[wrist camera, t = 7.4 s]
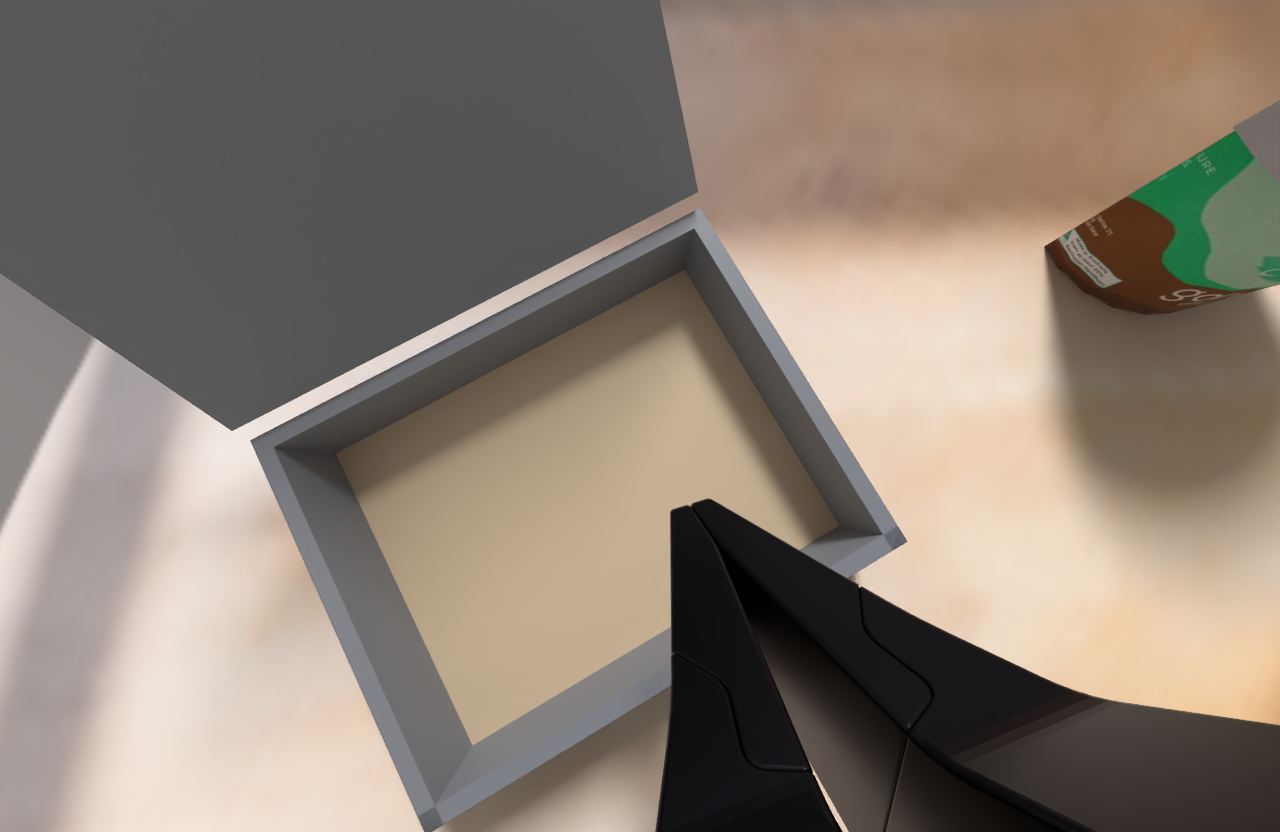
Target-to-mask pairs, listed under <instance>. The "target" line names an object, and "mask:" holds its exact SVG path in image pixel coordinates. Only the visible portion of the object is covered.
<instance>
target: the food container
mask: <svg viewBox="0 0 1280 832" xmlns="http://www.w3.org/2000/svg"><path fill="white" fill-rule="evenodd" d="M1233 128H1234V129H1235V131H1234V132H1232V133H1230V134H1229V135H1227V136H1225V137H1224V138H1222V139H1220V140H1219V141H1217V142H1216V143H1214V144H1212V145H1211V146H1209V147H1207V148H1206V149H1204V150H1202V151H1201V152H1199V153H1197V154H1196V155H1194V156H1192V157H1191V158H1189V159H1188V160H1186V161H1184V162H1183V163H1181V164H1179V165H1178V166H1176V167H1174V168H1173V169H1171V170H1169V171H1168V172H1166V173H1164V174H1163V175H1161V176H1160V177H1158V178H1156V179H1155V180H1153V181H1151V182H1150V183H1148V184H1146V185H1145V186H1143V187H1141V188H1140V189H1138V190H1136V191H1135V192H1133V193H1132V194H1130V195H1128V196H1127V197H1125V198H1123V199H1122V200H1120V201H1118V202H1117V203H1115V204H1113V205H1112V206H1110V207H1108V208H1107V209H1105V210H1104V211H1102V212H1100V213H1099V214H1097V215H1095V216H1094V217H1092V218H1090V219H1089V220H1087V221H1085V222H1084V223H1082V224H1080V225H1079V226H1077V227H1076V228H1074V229H1072V230H1071V231H1069V232H1067V233H1066V234H1064V235H1062V236H1061V237H1059V238H1057V239H1056V240H1054V241H1052V242H1051V243H1049V244H1048V245H1046V246H1045V248H1046V250H1047V251H1048V253H1049V254H1050V256H1051V258H1052V259H1053V261H1054V262H1055V264H1056V265H1057V267H1058V268H1059V269H1060V270H1061V271H1062V272H1063V273H1064V274H1065V275H1066V276H1067V277H1068V278H1069V279H1070V280H1071V281H1073V282H1074V283H1075V284H1076V285H1077V286H1078V287H1079V288H1080V289H1081V290H1082V291H1083V292H1085V293H1087V294H1089V295H1091V296H1093V297H1094V298H1096V299H1098V300H1100V301H1102V302H1104V303H1106V304H1107V305H1109V306H1111V307H1113V308H1118V309H1122V310H1127V311H1131V312H1136V313H1140V314H1160V313H1171V312H1175V311H1178V310H1182V309H1186V308H1190V307H1194V306H1198V305H1202V304H1206V303H1209V302H1213V301H1217V300H1221V299H1225V298H1229V297H1233V296H1237V295H1240V294H1244V293H1248V292H1252V291H1256V290H1260V289H1264V288H1268V287H1271V286H1275V285H1279V284H1280V101H1278V102H1276V103H1274V104H1273V105H1271V106H1269V107H1267V108H1266V109H1264V110H1262V111H1260V112H1259V113H1257V114H1255V115H1253V116H1251V117H1250V118H1248V119H1246V120H1244V121H1243V122H1241V123H1239V124H1237V125H1236V126H1234V127H1233Z"/></svg>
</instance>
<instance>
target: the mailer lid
mask: <svg viewBox="0 0 1280 832" xmlns="http://www.w3.org/2000/svg"><path fill="white" fill-rule="evenodd" d="M697 192H698V189H697V184H696V179H695V174H694V169H693V164H692V159H691V154H690V149H689V144H688V139H687V134H686V129H685V124H684V119H683V114H682V110H681V105H680V100H679V95H678V90H677V85H676V80H675V75H674V70H673V65H672V60H671V55H670V50H669V45H668V40H667V35H666V31H665V26H664V21H663V16H662V11H661V6H660V1H659V0H0V273H1V274H2V275H4V276H5V277H7V278H8V279H9V280H11V281H13V282H14V283H16V284H17V285H18V286H20V287H22V288H23V289H24V290H26V291H27V292H29V293H30V294H32V295H33V296H35V297H36V298H38V299H39V300H40V301H42V302H43V303H45V304H46V305H48V306H49V307H51V308H52V309H54V310H55V311H57V312H58V313H59V314H61V315H62V316H64V317H65V318H67V319H68V320H70V321H71V322H73V323H74V324H76V325H77V326H79V327H80V328H81V329H83V330H84V331H86V332H87V333H89V334H90V335H92V336H93V337H95V338H96V339H98V340H99V341H101V342H102V343H104V344H105V345H106V346H108V347H109V348H111V349H112V350H114V351H115V352H117V353H118V354H120V355H121V356H123V357H124V358H126V359H127V360H129V361H130V362H131V363H133V364H134V365H136V366H137V367H139V368H140V369H142V370H143V371H145V372H146V373H148V374H149V375H151V376H152V377H153V378H155V379H156V380H158V381H159V382H161V383H162V384H164V385H165V386H167V387H168V388H170V389H171V390H173V391H174V392H176V393H177V394H178V395H180V396H181V397H183V398H184V399H186V400H187V401H189V402H190V403H192V404H193V405H195V406H196V407H198V408H199V409H201V410H202V411H203V412H205V413H206V414H208V415H209V416H211V417H212V418H214V419H215V420H217V421H218V422H220V423H221V424H223V425H224V426H225V427H227V428H228V429H230V430H231V431H233V430H235V429H237V428H239V427H241V426H243V425H245V424H247V423H249V422H251V421H252V420H254V419H256V418H258V417H260V416H262V415H264V414H266V413H268V412H270V411H272V410H274V409H276V408H278V407H280V406H282V405H284V404H286V403H288V402H290V401H291V400H293V399H295V398H297V397H299V396H301V395H303V394H305V393H307V392H309V391H311V390H313V389H315V388H317V387H319V386H321V385H323V384H325V383H327V382H329V381H330V380H332V379H334V378H336V377H338V376H340V375H342V374H344V373H346V372H348V371H350V370H352V369H354V368H356V367H358V366H360V365H362V364H364V363H366V362H368V361H369V360H371V359H373V358H375V357H377V356H379V355H381V354H383V353H385V352H387V351H389V350H391V349H393V348H395V347H397V346H399V345H401V344H403V343H405V342H406V341H408V340H410V339H412V338H414V337H416V336H418V335H420V334H422V333H424V332H426V331H428V330H430V329H432V328H434V327H436V326H438V325H440V324H442V323H444V322H445V321H447V320H449V319H451V318H453V317H455V316H457V315H459V314H461V313H463V312H465V311H467V310H469V309H471V308H473V307H475V306H477V305H479V304H481V303H483V302H484V301H486V300H488V299H490V298H492V297H494V296H496V295H498V294H500V293H502V292H504V291H506V290H508V289H510V288H512V287H514V286H516V285H518V284H520V283H522V282H523V281H525V280H527V279H529V278H531V277H533V276H535V275H537V274H539V273H541V272H543V271H545V270H547V269H549V268H551V267H553V266H555V265H557V264H559V263H560V262H562V261H564V260H566V259H568V258H570V257H572V256H574V255H576V254H578V253H580V252H582V251H584V250H586V249H588V248H590V247H592V246H594V245H596V244H598V243H599V242H601V241H603V240H605V239H607V238H609V237H611V236H613V235H615V234H617V233H619V232H621V231H623V230H625V229H627V228H629V227H631V226H633V225H635V224H637V223H638V222H640V221H642V220H644V219H646V218H648V217H650V216H652V215H654V214H656V213H658V212H660V211H662V210H664V209H666V208H668V207H670V206H672V205H674V204H675V203H677V202H679V201H681V200H683V199H685V198H687V197H689V196H691V195H693V194H695V193H697Z"/></svg>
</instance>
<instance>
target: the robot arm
mask: <svg viewBox="0 0 1280 832" xmlns="http://www.w3.org/2000/svg"><path fill="white" fill-rule="evenodd" d="M670 583H671V654H672V655H671V692H670V714H669V724H668V735H667V745H666V753H665V761H664V769H663V776H662V784H661V792H660V800H659V808H658V815H657V823H656V831H655V832H843V831H842V830H841V828H840V826H839V825H838V823H837V821H836V820H835V818H834V816H833V814H832V812H831V810H830V808H829V806H828V804H827V802H826V800H825V798H824V795H823V793H822V791H821V789H820V787H819V784H818V782H817V780H816V778H815V776H814V775H813V771H812V768H811V766H810V764H811V765H812V767H813V769H814V771H815V773H816V774H817V776H818V778H819V780H820V781H821V783H822V785H823V787H824V788H825V790H826V792H827V794H828V796H829V797H830V799H831V801H832V803H833V804H834V806H835V808H836V810H837V812H838V813H839V815H840V817H841V819H842V820H843V822H844V824H845V826H846V828H847V829H848V831H849V832H1280V725H1274V724H1267V723H1261V722H1254V721H1247V720H1240V719H1233V718H1226V717H1220V716H1213V715H1206V714H1199V713H1192V712H1185V711H1179V710H1172V709H1165V708H1158V707H1151V706H1144V705H1138V704H1131V703H1124V702H1118V701H1112V700H1107V699H1103V698H1099V697H1095V696H1091V695H1088V694H1085V693H1082V692H1078V691H1075V690H1072V689H1070V688H1067V687H1064V686H1062V685H1059V684H1057V683H1054V682H1052V681H1050V680H1048V679H1045V678H1043V677H1041V676H1039V675H1036V674H1034V673H1032V672H1030V671H1028V670H1026V669H1024V668H1022V667H1020V666H1017V665H1015V664H1013V663H1011V662H1009V661H1007V660H1005V659H1003V658H1001V657H999V656H996V655H994V654H992V653H990V652H988V651H986V650H984V649H982V648H980V647H977V646H975V645H973V644H971V643H969V642H967V641H965V640H963V639H961V638H958V637H956V636H954V635H952V634H950V633H948V632H946V631H944V630H942V629H940V628H938V627H936V626H934V625H932V624H930V623H928V622H926V621H924V620H922V619H920V618H918V617H916V616H914V615H912V614H910V613H908V612H907V611H905V610H903V609H901V608H899V607H898V606H896V605H894V604H892V603H890V602H888V601H887V600H885V599H883V598H881V597H880V596H878V595H876V594H874V593H873V592H871V591H869V590H867V589H866V588H864V587H860V588H859V585H858V584H857V583H855V582H853V581H852V580H850V579H848V578H846V577H845V576H843V575H841V574H840V573H838V572H836V571H834V570H833V569H831V568H829V567H828V566H826V565H824V564H822V563H821V562H819V561H817V560H816V559H814V558H812V557H810V556H809V555H807V554H805V553H803V552H802V551H800V550H798V549H797V548H795V547H793V546H791V545H790V544H788V543H786V542H785V541H783V540H781V539H779V538H778V537H776V536H774V535H772V534H771V533H769V532H767V531H766V530H764V529H762V528H760V527H759V526H757V525H755V524H754V523H752V522H750V521H748V520H747V519H745V518H743V517H742V516H740V515H738V514H736V513H735V512H733V511H731V510H729V509H728V508H726V507H724V506H723V505H721V504H719V503H717V502H716V501H714V500H712V499H709V498H707V499H704V500H700V501H697V502H694V503H692V504H691V506H689V505H684V506H681V507H678V508H675V509H672V510H671V511H670ZM808 760H809V761H808ZM809 762H810V763H809Z"/></svg>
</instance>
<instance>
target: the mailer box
mask: <svg viewBox="0 0 1280 832" xmlns="http://www.w3.org/2000/svg"><path fill="white" fill-rule="evenodd" d="M250 441H251V443H252V446H253V448H254V450H255V452H256V455H257V457H258V459H259V461H260V463H261V466H262V468H263V470H264V472H265V475H266V477H267V479H268V481H269V484H270V486H271V488H272V490H273V493H274V495H275V497H276V499H277V502H278V504H279V506H280V508H281V511H282V513H283V515H284V517H285V520H286V522H287V524H288V526H289V529H290V531H291V533H292V535H293V538H294V540H295V542H296V544H297V547H298V549H299V551H300V553H301V556H302V558H303V560H304V562H305V565H306V567H307V569H308V571H309V574H310V576H311V578H312V580H313V583H314V585H315V587H316V589H317V592H318V594H319V596H320V598H321V601H322V603H323V605H324V607H325V610H326V612H327V614H328V616H329V619H330V621H331V623H332V625H333V628H334V630H335V632H336V634H337V637H338V639H339V641H340V643H341V646H342V648H343V650H344V652H345V655H346V657H347V659H348V661H349V664H350V666H351V668H352V670H353V673H354V675H355V677H356V679H357V682H358V684H359V686H360V688H361V691H362V693H363V695H364V697H365V700H366V702H367V704H368V706H369V709H370V711H371V713H372V715H373V718H374V720H375V722H376V724H377V727H378V729H379V731H380V733H381V735H382V738H383V740H384V742H385V744H386V747H387V749H388V751H389V753H390V756H391V758H392V760H393V762H394V765H395V767H396V769H397V771H398V774H399V776H400V778H401V780H402V783H403V785H404V787H405V789H406V792H407V794H408V796H409V798H410V801H411V803H412V805H413V807H414V810H415V812H416V814H417V816H418V819H419V821H420V823H421V825H422V828H423V830H424V832H432V831H434V830H435V829H437V828H439V827H440V826H442V825H444V824H445V823H447V822H448V821H450V820H452V819H453V818H455V817H457V816H458V815H460V814H462V813H463V812H465V811H467V810H468V809H470V808H471V807H473V806H475V805H476V804H478V803H480V802H481V801H483V800H485V799H486V798H488V797H489V796H491V795H493V794H494V793H496V792H498V791H499V790H501V789H503V788H504V787H506V786H508V785H509V784H511V783H512V782H514V781H516V780H517V779H519V778H521V777H522V776H524V775H526V774H527V773H529V772H530V771H532V770H534V769H535V768H537V767H539V766H540V765H542V764H544V763H545V762H547V761H548V760H550V759H552V758H553V757H555V756H557V755H558V754H560V753H562V752H563V751H565V750H567V749H568V748H570V747H571V746H573V745H575V744H576V743H578V742H580V741H581V740H583V739H585V738H586V737H588V736H589V735H591V734H593V733H594V732H596V731H598V730H599V729H601V728H603V727H604V726H606V725H608V724H609V723H611V722H612V721H614V720H616V719H617V718H619V717H621V716H622V715H624V714H626V713H627V712H629V711H630V710H632V709H634V708H635V707H637V706H639V705H640V704H642V703H644V702H645V701H647V700H649V699H650V698H652V697H653V696H655V695H657V694H658V693H660V692H662V691H663V690H665V689H667V688H668V687H670V686H671V655H672V654H671V583H670V511H671V510H672V509H675V508H678V507H681V506H684V505H689V506H691V504H692V503H694V502H697V501H700V500H704V499H707V498H709V499H712V500H714V501H716V502H717V503H719V504H721V505H723V506H724V507H726V508H728V509H729V510H731V511H733V512H735V513H736V514H738V515H740V516H742V517H743V518H745V519H747V520H748V521H750V522H752V523H754V524H755V525H757V526H759V527H760V528H762V529H764V530H766V531H767V532H769V533H771V534H772V535H774V536H776V537H778V538H779V539H781V540H783V541H785V542H786V543H788V544H790V545H791V546H793V547H795V548H797V549H798V550H800V551H802V552H803V553H805V554H807V555H809V556H810V557H812V558H814V559H816V560H817V561H819V562H821V563H822V564H824V565H826V566H828V567H829V568H831V569H833V570H834V571H836V572H838V573H840V574H841V575H843V576H845V577H846V578H849V577H850V576H852V575H853V574H855V573H857V572H858V571H860V570H862V569H863V568H865V567H867V566H868V565H870V564H871V563H873V562H875V561H876V560H878V559H880V558H881V557H883V556H885V555H886V554H888V553H890V552H891V551H893V550H894V549H896V548H898V547H899V546H901V545H903V544H904V543H906V542H907V540H906V539H905V537H904V535H903V534H902V532H901V531H900V529H899V527H898V526H897V524H896V522H895V521H894V519H893V518H892V516H891V514H890V513H889V511H888V510H887V508H886V506H885V505H884V503H883V502H882V500H881V498H880V497H879V495H878V494H877V492H876V490H875V489H874V487H873V486H872V484H871V482H870V481H869V479H868V477H867V476H866V474H865V473H864V471H863V469H862V468H861V466H860V465H859V463H858V461H857V460H856V458H855V457H854V455H853V453H852V452H851V450H850V449H849V447H848V445H847V444H846V442H845V440H844V439H843V437H842V436H841V434H840V432H839V431H838V429H837V428H836V426H835V424H834V423H833V421H832V420H831V418H830V416H829V415H828V413H827V412H826V410H825V408H824V407H823V405H822V403H821V402H820V400H819V399H818V397H817V395H816V394H815V392H814V391H813V389H812V387H811V386H810V384H809V383H808V381H807V379H806V378H805V376H804V375H803V373H802V371H801V370H800V368H799V367H798V365H797V363H796V362H795V360H794V358H793V357H792V355H791V354H790V352H789V350H788V349H787V347H786V346H785V344H784V342H783V341H782V339H781V338H780V336H779V334H778V333H777V331H776V330H775V328H774V326H773V325H772V323H771V321H770V320H769V318H768V317H767V315H766V313H765V312H764V310H763V309H762V307H761V305H760V304H759V302H758V301H757V299H756V297H755V296H754V294H753V293H752V291H751V289H750V288H749V286H748V284H747V283H746V281H745V280H744V278H743V276H742V275H741V273H740V272H739V270H738V268H737V267H736V265H735V264H734V262H733V260H732V259H731V257H730V256H729V254H728V252H727V251H726V249H725V248H724V246H723V244H722V243H721V241H720V239H719V238H718V236H717V235H716V233H715V231H714V230H713V228H712V227H711V225H710V223H709V222H708V220H707V219H706V217H705V215H704V214H703V212H702V211H701V209H700V208H699V209H697V210H695V211H694V212H692V213H690V214H688V215H686V216H684V217H682V218H680V219H678V220H676V221H674V222H672V223H670V224H668V225H666V226H664V227H663V228H661V229H659V230H657V231H655V232H653V233H651V234H649V235H647V236H645V237H643V238H641V239H639V240H637V241H635V242H633V243H632V244H630V245H628V246H626V247H624V248H622V249H620V250H618V251H616V252H614V253H612V254H610V255H608V256H606V257H604V258H603V259H601V260H599V261H597V262H595V263H593V264H591V265H589V266H587V267H585V268H583V269H581V270H579V271H577V272H575V273H573V274H572V275H570V276H568V277H566V278H564V279H562V280H560V281H558V282H556V283H554V284H552V285H550V286H548V287H546V288H544V289H542V290H541V291H539V292H537V293H535V294H533V295H531V296H529V297H527V298H525V299H523V300H521V301H519V302H517V303H515V304H513V305H512V306H510V307H508V308H506V309H504V310H502V311H500V312H498V313H496V314H494V315H492V316H490V317H488V318H486V319H484V320H482V321H481V322H479V323H477V324H475V325H473V326H471V327H469V328H467V329H465V330H463V331H461V332H459V333H457V334H455V335H453V336H451V337H450V338H448V339H446V340H444V341H442V342H440V343H438V344H436V345H434V346H432V347H430V348H428V349H426V350H424V351H422V352H421V353H419V354H417V355H415V356H413V357H411V358H409V359H407V360H405V361H403V362H401V363H399V364H397V365H395V366H393V367H391V368H390V369H388V370H386V371H384V372H382V373H380V374H378V375H376V376H374V377H372V378H370V379H368V380H366V381H364V382H362V383H360V384H359V385H357V386H355V387H353V388H351V389H349V390H347V391H345V392H343V393H341V394H339V395H337V396H335V397H333V398H331V399H330V400H328V401H326V402H324V403H322V404H320V405H318V406H316V407H314V408H312V409H310V410H308V411H306V412H304V413H302V414H300V415H299V416H297V417H295V418H293V419H291V420H289V421H287V422H285V423H283V424H281V425H279V426H277V427H275V428H273V429H271V430H270V431H268V432H266V433H264V434H262V435H260V436H258V437H256V438H254V439H252V440H250Z"/></svg>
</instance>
